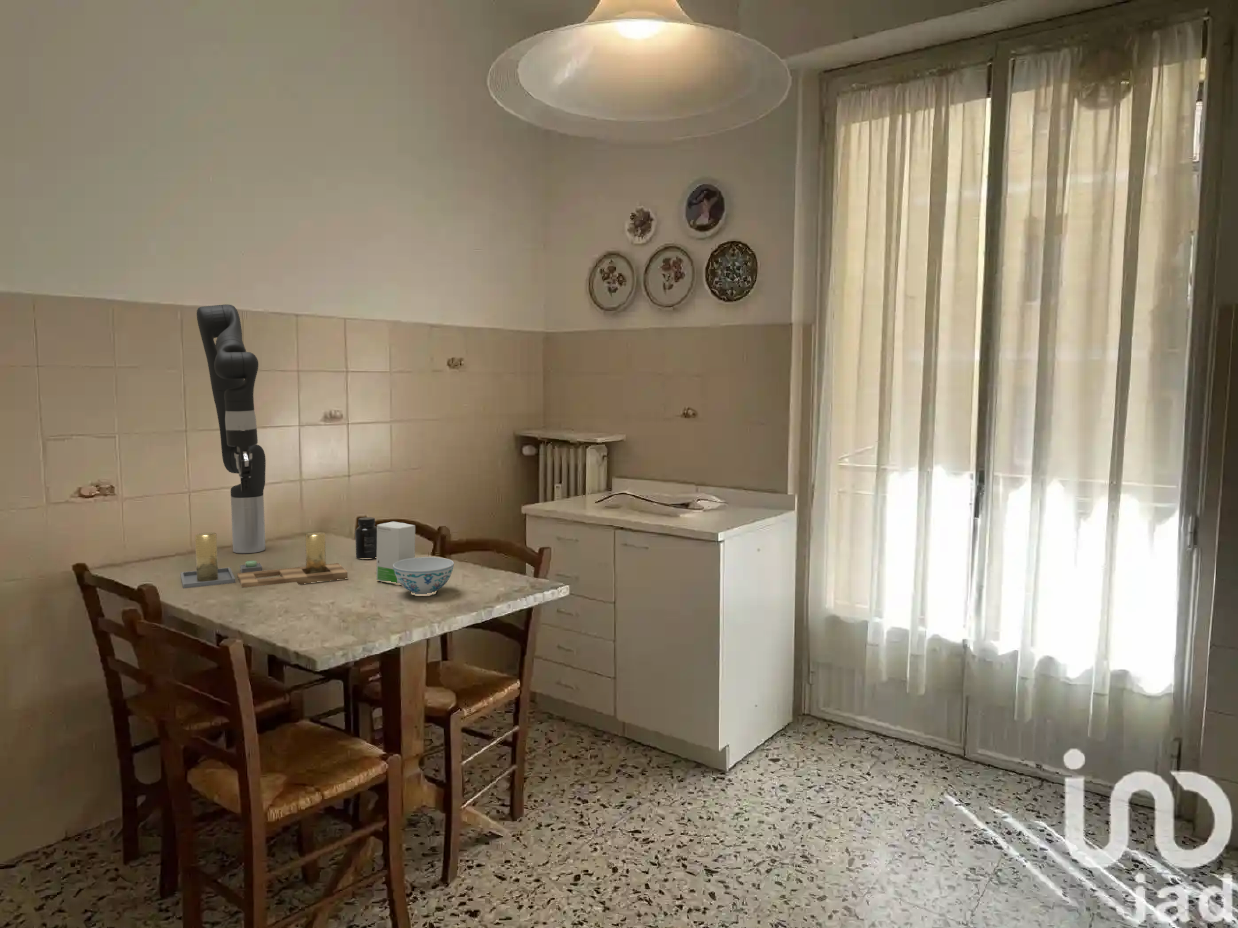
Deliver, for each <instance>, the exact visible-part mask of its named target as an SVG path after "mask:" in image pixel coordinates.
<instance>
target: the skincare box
mask: <svg viewBox="0 0 1238 928" xmlns="http://www.w3.org/2000/svg"><path fill="white" fill-rule="evenodd" d="M376 527H377V558H376V573H375V574H376V576H375V577H376V580H379V581H391V582H396V583H400V582H399V581H398V579H397V577H396V575H395V572H394V568H393V564H394V563H396V562H398V561H401V560H405V559H410V558H416V557H415V556H416V555H415V553H416V525H415V524H409V523H405V522H398V521H390V522H383V523H379V524H376ZM376 580H375V581H376Z"/></svg>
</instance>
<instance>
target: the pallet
mask: <svg viewBox="0 0 1238 928" xmlns="http://www.w3.org/2000/svg"><path fill="white" fill-rule="evenodd" d="M348 574H349V572H348V571H347V569H346V568H344V567H343V566H342V565H341V564H340V563H338V562H336V563H335V562H334V563H326V572H322V573H313V574H306V565H305V566H298V567H297V566H295V567H286V568H277V569H276V568H275V569H268V570H267V569H265V570H262V571H255V572H245V573H241V572H238V573H236V575H237V577H236V579H237V580H238V581H239V583H240V586H241V588H252V587H258V586H271V585H276V584H278V585H279V584H287V583H288V584H289V583H297V584H298V585H299V584H303V585H305V584H304V583H311V582H317V581H329V582H331V581H330V580H337V579H345V578H348ZM275 576H278V577H275ZM265 577H269V578H265ZM257 578H259V579H257ZM348 579H349V578H348Z"/></svg>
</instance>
